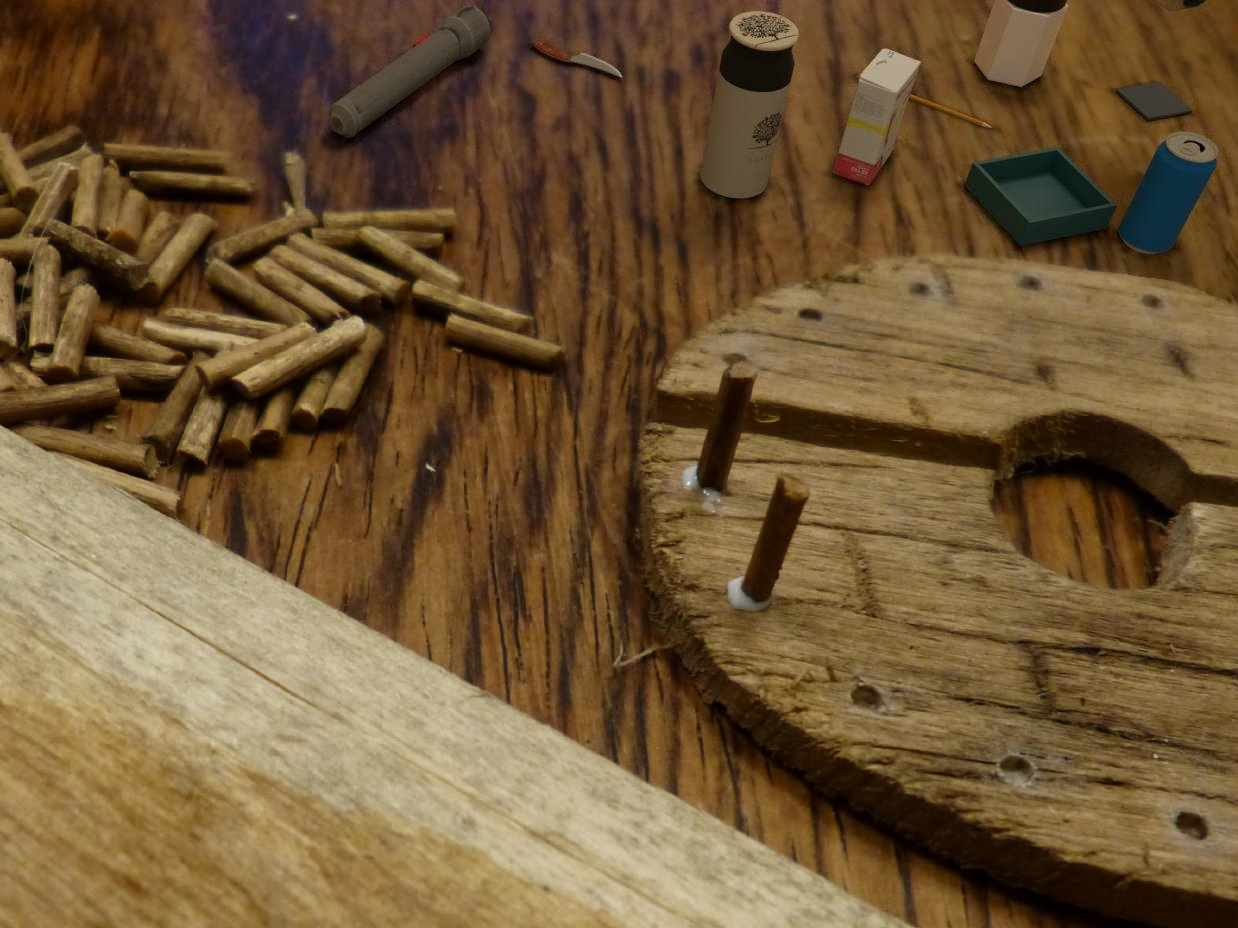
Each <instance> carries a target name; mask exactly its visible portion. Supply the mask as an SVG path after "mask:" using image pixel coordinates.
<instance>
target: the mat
mask: <svg viewBox="0 0 1238 928" xmlns="http://www.w3.org/2000/svg"><path fill="white" fill-rule="evenodd" d="M1115 93H1116V94H1117V95H1119V96H1120V98H1122V99H1123V100H1124V101H1125V103H1127V104H1128V105H1129V106H1131V107H1132V108H1133V109H1134V110H1135V111H1136V112H1137V113H1138V114H1139V115H1140V116H1142V117H1143V118H1144V119H1145V120H1146V121H1153V120H1159V119H1164V118H1171V117H1176V116H1182V115H1187V114H1192V111H1193V109H1192V108H1190V107H1189V106H1188V105H1187V104H1186V102H1184V101H1182V100H1181V99H1180V98H1179V97H1178V96H1177V95H1176V94H1174V93H1173V92H1172V91H1171V90H1170V89H1168V87H1167V86H1165V85H1164V84H1163V83H1162V82H1161V81H1157V82H1151V83H1144V84H1138V85H1133V86H1127V87H1121V88H1116V90H1115Z"/></svg>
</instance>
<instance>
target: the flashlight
mask: <svg viewBox="0 0 1238 928" xmlns="http://www.w3.org/2000/svg"><path fill="white" fill-rule="evenodd" d="M490 37H491V25H490V23H489V20H488V18H487V16H486V14H485V13H484V12H483V11H482V10H481V9H480V8H478V7H476V6H474V5H465V6H462V7H461V8H460V9H457V10H456V11H455V12H454V13H453V14H451V15H450V16H448V17H447V18H445V19H444V21H443V22H442V24H441V25H440V26H439V28H438V29H437V30H436V31H435V32H433V33H432V34H430V33H427V34H425V35H423V36H422V37H420V38H419V39H418V40H416V41H415V42H413V44H412V48H411V49H409V50H408V51H406V52H405V53H403V54H402V55H401V56H399V57H398V58H396V59H395V60H394V61H392V62H390V63H389V64H388V65H387V66H385V67H383V68H382V69H381V70H380V71H377V72H376V73H375V74H374V75H372V76H371V77H370V78H367V80H365V81H363V83H361V84H360V85H358V86H357V87H355V88H354V89H353V90H351V91H350V92H348V93H347V94H345V95H344V96H343V97H341V98H340V99H339V100H337V101H336V102H334V103H333V104H331V105H330V106H329V109H328V118H329V123H330V126H331V128H332V130H333V131H334V132H335V133H336V134H338V135H339V136H341V137H343V138H344V139H345V138H346V139H351V138H353V137H354V136H356V135H357V134H358V133H360V132H361V131H363V130H364V129H365V128H367V127H368V126H370V125H371V124H372V123H373V122H375V121H376V120H378V119H379V118H380V117H382V116H383V115H384V114H385V113H387V112H388V111H389V110H391V109H392V108H394V107H395V106H396V105H398V104H399V103H400V102H401V101H404V99H406V98H407V97H409V96H410V95H412V94H413V93H414V92H415V91H417V90H418V89H419V88H421V87H423V86H424V85H425V84H427V82H429V81H431V80H432V79H433V78H434V77H436V76H437V75H438V74H440V73H441V72H443V71H444V70H446V69H447V68H448V67H449V66H451V65H452V64H454V63H455V62H456V61H461V60H464V59H467V58H469V57H470V56H472V55H473V54H474V53H476V52H477V51H478V50H480V49H481V48H483V46H485V45H486V44H487V43H488V42H489V39H490Z"/></svg>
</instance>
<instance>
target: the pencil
mask: <svg viewBox="0 0 1238 928" xmlns="http://www.w3.org/2000/svg"><path fill="white" fill-rule="evenodd" d="M860 74H861V73H860ZM860 74H858V75H857V77H856V78H857V79H858V80H859V79H860ZM909 99H910V100H912V101H915V102H917V103H919V104H923V105H925V106H928V107H930V108H934V109H936V110H938V111H940V112H943V113H946V114H949V115H951V116H954V117H956V118H959V119H962V120H964V121H966V122H970V123H972V124H974V125H977V126H980V127H983V128H988V129H993V130H994V129H995V128H994V127H993V126H991V125H989V124H988V123H986V122H985V121H983V120H980V119H977V118H975V117H973V116H970V115H967V114H965V113H962V112H959V111H957V110H954V109H951V108H948V107H946V106H944V105H941V104H938V103H935V102H933V101H930V100H928V99H925V98H922V97H920V96H917V95H914V94H912V93H910V96H909Z"/></svg>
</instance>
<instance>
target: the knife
mask: <svg viewBox="0 0 1238 928" xmlns="http://www.w3.org/2000/svg"><path fill="white" fill-rule="evenodd" d="M532 46H533V48H535V50H537V51H538V52H539V53H542V54H543V55H544V56H547V57H550V58H551V59H555V60H557V61H560V62H563V63H567V64H568V63H569V64H570V63H573V64H574V63H575V64H578V65H583V66H586V67H589V68H594V69H596V70H599V71H603V72H605V73H608V74H610V75H613V76H615V77H618V78H621V79H624V78H623V75H622V74H621V72H620V71H619V69H617V68H616V67H615V66H613V65H612V64H610V63H609V62H606V61H604V60H602V59H600V58H598V57H596V56H593V55H591V54H588V53H585V52H580V53H579V54H576V55H573V54H572V53H568V52H565V51H562V50H559V49H557V48H554V47H553V46H551V45H550V44H549V43H547V42H546V41H545V40H543V39H538V40H534V41H532Z"/></svg>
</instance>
